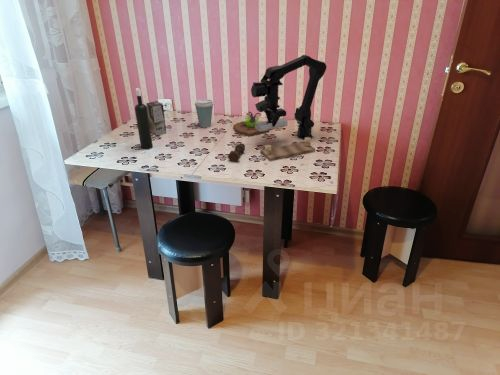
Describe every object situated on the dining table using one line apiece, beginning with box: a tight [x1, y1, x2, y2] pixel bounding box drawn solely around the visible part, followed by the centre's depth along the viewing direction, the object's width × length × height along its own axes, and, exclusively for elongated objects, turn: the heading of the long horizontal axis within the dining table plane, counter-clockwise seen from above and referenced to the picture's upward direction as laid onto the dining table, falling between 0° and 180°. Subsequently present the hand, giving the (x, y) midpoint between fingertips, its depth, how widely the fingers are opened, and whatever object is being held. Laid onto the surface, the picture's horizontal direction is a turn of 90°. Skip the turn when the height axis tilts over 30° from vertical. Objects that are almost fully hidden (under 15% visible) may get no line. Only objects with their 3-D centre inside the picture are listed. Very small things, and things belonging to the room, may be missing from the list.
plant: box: [232, 111, 272, 137], centre depth 208 cm, size 20×20×11 cm
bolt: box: [227, 142, 246, 163], centre depth 179 cm, size 6×5×15 cm
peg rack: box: [260, 137, 316, 162], centre depth 182 cm, size 25×10×6 cm, turn 114°
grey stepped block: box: [255, 117, 289, 132], centre depth 189 cm, size 16×6×3 cm, turn 114°
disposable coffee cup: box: [194, 98, 215, 129], centre depth 213 cm, size 11×11×15 cm
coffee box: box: [145, 100, 167, 136], centre depth 205 cm, size 9×6×16 cm
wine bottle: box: [134, 87, 154, 150], centre depth 183 cm, size 6×6×30 cm
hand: (271, 125), depth 189 cm, fingers closed on grey stepped block, 4 cm apart
